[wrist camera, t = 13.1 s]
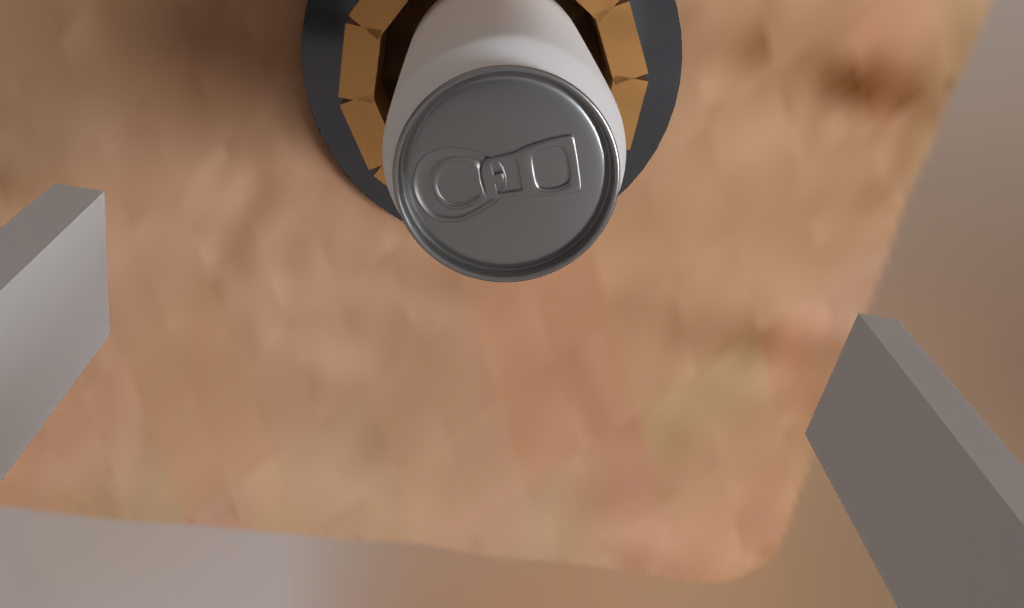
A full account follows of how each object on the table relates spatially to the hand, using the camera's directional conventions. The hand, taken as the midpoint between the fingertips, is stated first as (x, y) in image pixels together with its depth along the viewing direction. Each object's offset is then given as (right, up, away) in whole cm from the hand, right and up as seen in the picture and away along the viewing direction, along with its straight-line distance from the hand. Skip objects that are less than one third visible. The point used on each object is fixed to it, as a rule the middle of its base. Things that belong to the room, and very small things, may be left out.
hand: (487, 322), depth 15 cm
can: (0, +9, +17) cm, 19 cm away
